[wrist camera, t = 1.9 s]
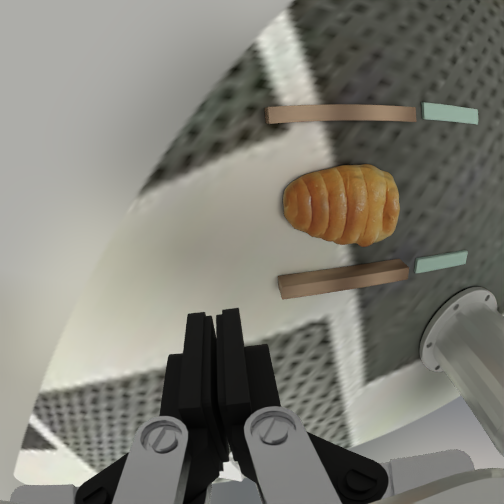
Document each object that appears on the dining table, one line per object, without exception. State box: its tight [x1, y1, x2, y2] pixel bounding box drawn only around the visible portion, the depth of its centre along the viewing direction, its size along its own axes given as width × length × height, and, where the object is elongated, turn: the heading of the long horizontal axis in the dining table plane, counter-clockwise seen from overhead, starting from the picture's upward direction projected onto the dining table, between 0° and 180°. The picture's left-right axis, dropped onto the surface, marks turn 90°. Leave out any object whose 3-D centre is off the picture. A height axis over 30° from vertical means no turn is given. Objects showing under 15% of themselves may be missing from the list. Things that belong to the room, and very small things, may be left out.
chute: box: [264, 105, 416, 299], centre depth 25 cm, size 12×15×2 cm
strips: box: [414, 103, 478, 273], centre depth 26 cm, size 7×16×1 cm, turn 5°
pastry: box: [283, 164, 400, 247], centre depth 25 cm, size 9×7×4 cm
